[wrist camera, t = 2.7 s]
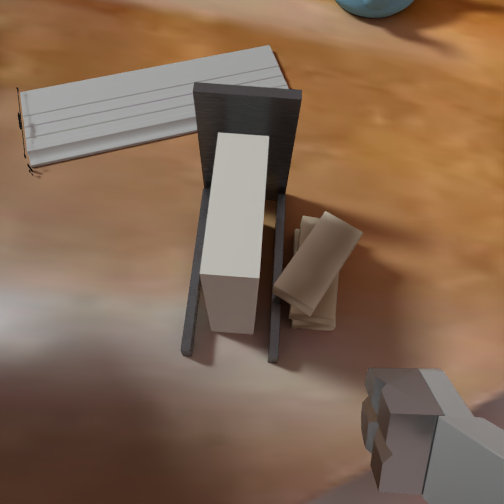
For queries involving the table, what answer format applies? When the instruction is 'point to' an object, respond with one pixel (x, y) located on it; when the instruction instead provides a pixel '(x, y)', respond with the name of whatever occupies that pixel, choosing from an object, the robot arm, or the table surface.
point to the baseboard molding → (132, 105)
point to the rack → (279, 159)
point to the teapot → (374, 7)
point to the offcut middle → (327, 304)
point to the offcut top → (316, 263)
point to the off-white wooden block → (234, 232)
